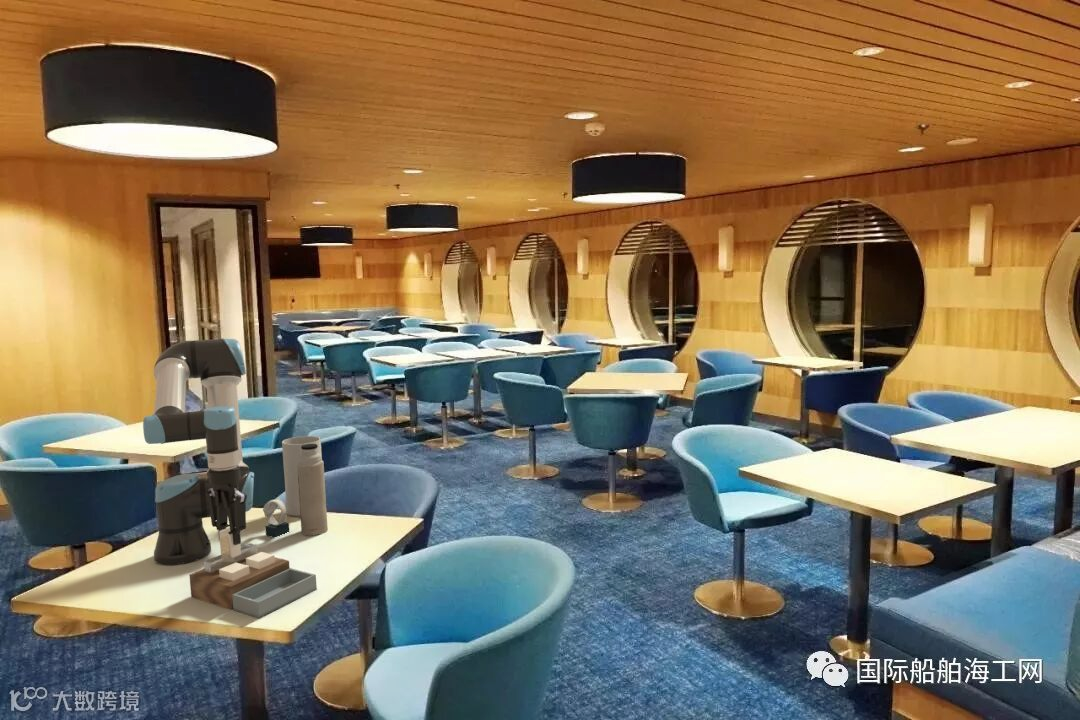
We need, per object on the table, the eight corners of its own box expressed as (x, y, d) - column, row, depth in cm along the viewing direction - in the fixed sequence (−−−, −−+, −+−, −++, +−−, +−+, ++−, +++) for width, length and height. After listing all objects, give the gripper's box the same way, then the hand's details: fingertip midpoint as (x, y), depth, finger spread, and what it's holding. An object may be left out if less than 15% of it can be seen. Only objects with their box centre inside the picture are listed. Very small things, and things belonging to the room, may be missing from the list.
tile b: (246, 565, 193) (245, 558, 193) (262, 559, 198) (261, 551, 198) (259, 569, 191) (258, 561, 191) (274, 562, 195) (274, 555, 195)
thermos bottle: (297, 535, 232) (291, 448, 228) (306, 527, 240) (300, 442, 236) (323, 535, 231) (317, 447, 228) (331, 526, 239) (325, 441, 236)
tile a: (219, 577, 187) (219, 569, 186) (236, 569, 191) (235, 562, 191) (232, 580, 184) (232, 573, 184) (249, 573, 188) (249, 565, 188)
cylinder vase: (313, 518, 248) (309, 445, 245) (279, 516, 251) (274, 444, 248) (331, 506, 260) (327, 436, 257) (298, 504, 263) (294, 435, 260)
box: (233, 610, 181) (232, 594, 181) (291, 582, 197) (290, 568, 196) (259, 618, 177) (258, 602, 176) (316, 589, 192) (315, 574, 192)
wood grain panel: (191, 597, 189) (189, 574, 189) (250, 571, 205) (248, 550, 204) (232, 610, 181) (230, 586, 181) (290, 582, 197) (289, 560, 196)
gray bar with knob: (204, 570, 188) (201, 544, 188) (250, 552, 200) (248, 527, 200) (211, 572, 187) (209, 546, 186) (257, 554, 199) (255, 528, 198)
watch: (275, 529, 238) (273, 496, 237) (293, 533, 234) (291, 499, 233) (261, 534, 234) (259, 500, 232) (279, 538, 230) (276, 504, 228)
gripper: (191, 467, 192) (198, 554, 194) (231, 474, 183) (239, 565, 186) (216, 460, 198) (223, 545, 201) (257, 466, 190) (263, 555, 193)
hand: (231, 554), depth 193 cm, fingers closed on gray bar with knob, 3 cm apart
